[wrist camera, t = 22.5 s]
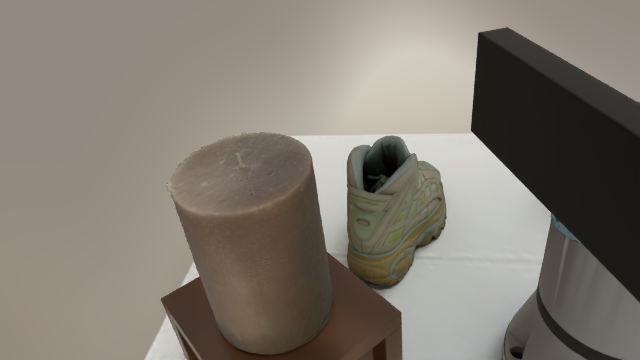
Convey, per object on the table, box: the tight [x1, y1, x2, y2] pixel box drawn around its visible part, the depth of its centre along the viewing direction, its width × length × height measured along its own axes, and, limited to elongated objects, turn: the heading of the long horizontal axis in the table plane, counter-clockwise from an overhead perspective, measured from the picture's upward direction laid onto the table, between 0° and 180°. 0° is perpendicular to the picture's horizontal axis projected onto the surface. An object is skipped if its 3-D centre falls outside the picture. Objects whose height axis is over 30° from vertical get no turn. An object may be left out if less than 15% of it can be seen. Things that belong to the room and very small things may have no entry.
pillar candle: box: [167, 132, 333, 355], centre depth 37 cm, size 10×10×15 cm
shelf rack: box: [161, 252, 402, 360], centre depth 44 cm, size 14×15×11 cm
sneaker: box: [347, 136, 446, 286], centre depth 58 cm, size 11×19×15 cm, turn 136°
